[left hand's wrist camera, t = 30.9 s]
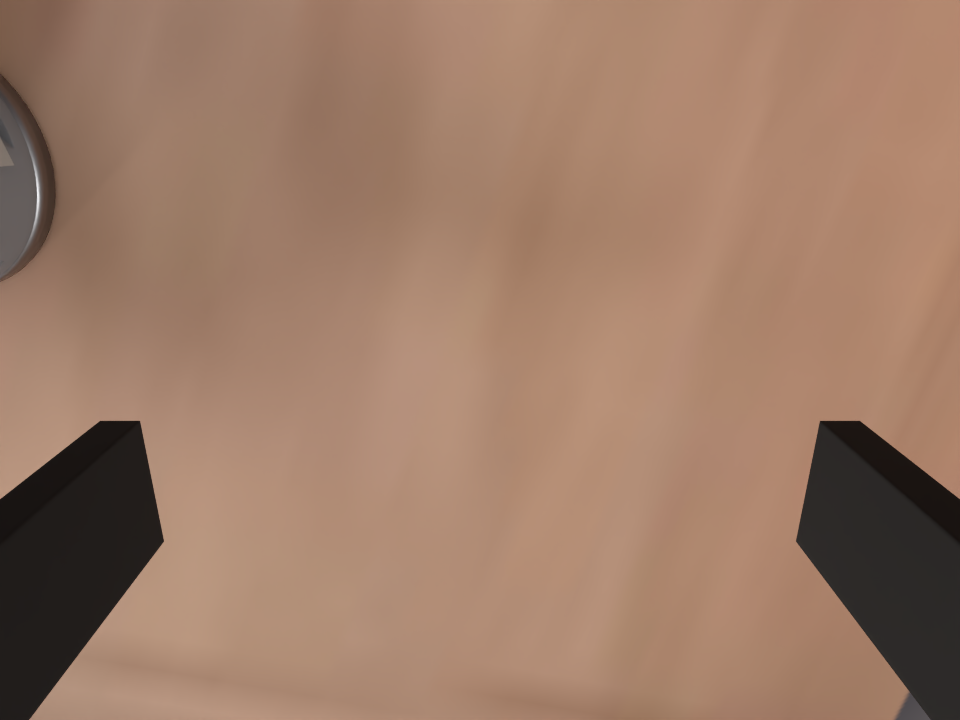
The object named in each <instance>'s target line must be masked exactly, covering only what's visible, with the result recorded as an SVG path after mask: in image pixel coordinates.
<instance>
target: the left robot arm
mask: <svg viewBox="0 0 960 720" xmlns="http://www.w3.org/2000/svg"><path fill="white" fill-rule="evenodd" d="M54 208H55V179H54V172H53V167H52V162H51V158H50V154H49V151H48V148H47V145H46V142H45V140H44V137H43V135H42V133H41V130H40V128H39V126H38V124H37V122H36V120H35V119H34V117H33V115H32V113H31V112H30V110H29V109H28V107H27V105H26V104H25V103H24V101H23V100H22V98H21V97H20V96H19V94H18V93H17V92H16V91H15V89H14V88H13V87H12V86H11V85H10V84H9V82H8V81H7V80H6V79H5V78H4V77H3V76H2V75H1V74H0V281H3V280H5V279H7V278H9V277H11V276H12V275H14V274H15V273H17V272H18V271H20V270H21V269H22V268H23V267H25V266H26V265H27V264H28V263H29V262H30V261H31V260H32V259H33V258H34V256H35V255H36V254H37V252H38V251H39V250H40V248H41V246H42V244H43V243H44V241H45V239H46V237H47V234H48V232H49V229H50V226H51V223H52V219H53V214H54ZM163 542H164V539H163V534H162V529H161V524H160V519H159V514H158V509H157V504H156V499H155V494H154V489H153V484H152V479H151V474H150V469H149V464H148V459H147V454H146V449H145V444H144V439H143V434H142V429H141V424H140V421H100V422H98V423H97V424H96V425H94V426H93V427H92V428H91V429H89V430H88V431H87V432H86V433H84V434H83V435H82V436H80V437H79V438H78V439H77V440H75V441H74V442H73V443H71V444H70V445H69V446H68V447H66V448H65V449H64V450H63V451H61V452H60V453H59V454H57V455H56V456H55V457H54V458H52V459H51V460H50V461H49V462H47V463H46V464H45V465H43V466H42V467H41V468H40V469H38V470H37V471H36V472H34V473H33V474H32V475H31V476H29V477H28V478H27V479H26V480H24V481H23V482H22V483H20V484H19V485H18V486H17V487H15V488H14V489H13V490H12V491H10V492H9V493H8V494H6V495H5V496H4V497H3V498H1V499H0V720H29V719H30V718H31V716H32V715H33V714H34V713H35V711H36V710H37V709H38V707H39V706H40V705H41V703H42V702H43V701H44V699H45V698H46V697H47V695H48V694H49V693H50V691H51V690H52V689H53V687H54V686H55V685H56V683H57V682H58V681H59V679H60V678H61V677H62V675H63V674H64V673H65V672H66V670H67V669H68V668H69V666H70V665H71V664H72V662H73V661H74V660H75V658H76V657H77V656H78V654H79V653H80V652H81V650H82V649H83V648H84V646H85V645H86V644H87V642H88V641H89V640H90V638H91V637H92V636H93V635H94V633H95V632H96V631H97V629H98V628H99V627H100V625H101V624H102V623H103V621H104V620H105V619H106V617H107V616H108V615H109V613H110V612H111V611H112V609H113V608H114V607H115V605H116V604H117V603H118V601H119V600H120V599H121V597H122V596H123V595H124V594H125V592H126V591H127V590H128V588H129V587H130V586H131V584H132V583H133V582H134V580H135V579H136V578H137V576H138V575H139V574H140V572H141V571H142V570H143V568H144V567H145V566H146V564H147V563H148V562H149V560H150V559H151V558H152V556H153V555H154V554H155V553H156V551H157V550H158V549H159V547H160V546H161V545H162V543H163ZM796 542H797V543H798V545H799V546H800V547H801V549H802V550H803V551H804V553H805V554H806V555H807V556H808V558H809V559H810V560H811V562H812V563H813V564H814V566H815V567H816V568H817V570H818V571H819V572H820V574H821V575H822V576H823V578H824V579H825V580H826V582H827V583H828V584H829V586H830V587H831V588H832V590H833V591H834V592H835V594H836V595H837V596H838V597H839V599H840V600H841V601H842V603H843V604H844V605H845V607H846V608H847V609H848V611H849V612H850V613H851V615H852V616H853V617H854V619H855V620H856V621H857V623H858V624H859V625H860V627H861V628H862V629H863V631H864V632H865V633H866V635H867V636H868V637H869V638H870V640H871V641H872V642H873V644H874V645H875V646H876V648H877V649H878V650H879V652H880V653H881V654H882V656H883V657H884V658H885V660H886V661H887V662H888V664H889V665H890V666H891V668H892V669H893V670H894V672H895V673H896V674H897V675H898V677H899V678H900V679H901V681H902V682H903V683H904V685H905V686H906V687H907V689H908V690H909V691H910V693H911V694H912V695H913V697H914V698H915V699H916V701H917V702H918V703H919V705H920V706H921V707H922V709H923V710H924V711H925V713H926V714H927V715H928V716H929V718H930V719H931V720H960V499H959V498H957V497H956V496H955V495H954V494H952V493H951V492H950V491H948V490H947V489H946V488H945V487H943V486H942V485H941V484H940V483H938V482H937V481H936V480H934V479H933V478H932V477H931V476H929V475H928V474H927V473H926V472H924V471H923V470H922V469H920V468H919V467H918V466H917V465H915V464H914V463H913V462H911V461H910V460H909V459H908V458H906V457H905V456H904V455H903V454H901V453H900V452H899V451H897V450H896V449H895V448H894V447H892V446H891V445H890V444H889V443H887V442H886V441H885V440H883V439H882V438H881V437H880V436H878V435H877V434H876V433H874V432H873V431H872V430H871V429H869V428H868V427H867V426H866V425H864V424H863V423H862V422H860V421H820V424H819V429H818V434H817V439H816V444H815V449H814V454H813V459H812V464H811V469H810V474H809V479H808V484H807V489H806V494H805V499H804V504H803V509H802V514H801V519H800V524H799V529H798V534H797V539H796Z"/></svg>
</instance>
